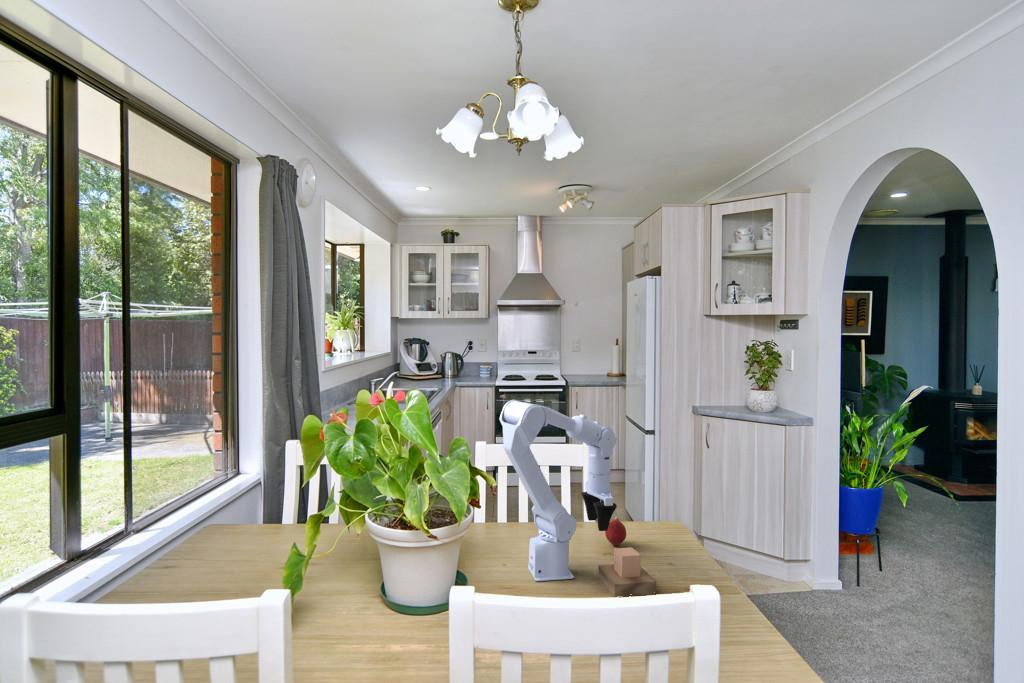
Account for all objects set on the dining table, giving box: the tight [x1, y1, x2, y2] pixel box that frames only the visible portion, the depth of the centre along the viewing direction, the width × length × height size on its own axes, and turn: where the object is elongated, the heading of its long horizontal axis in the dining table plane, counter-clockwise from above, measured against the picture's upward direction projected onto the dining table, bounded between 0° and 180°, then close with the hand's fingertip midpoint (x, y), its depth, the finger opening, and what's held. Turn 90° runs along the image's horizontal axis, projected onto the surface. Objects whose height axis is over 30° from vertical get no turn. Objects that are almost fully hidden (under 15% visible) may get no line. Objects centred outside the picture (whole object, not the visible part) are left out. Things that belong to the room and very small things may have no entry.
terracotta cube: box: [613, 547, 642, 578], centre depth 127 cm, size 4×4×5 cm
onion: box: [604, 516, 627, 547], centre depth 151 cm, size 6×6×8 cm
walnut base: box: [597, 563, 657, 598], centre depth 127 cm, size 10×10×3 cm
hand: (597, 525), depth 140 cm, fingers open, 7 cm apart
